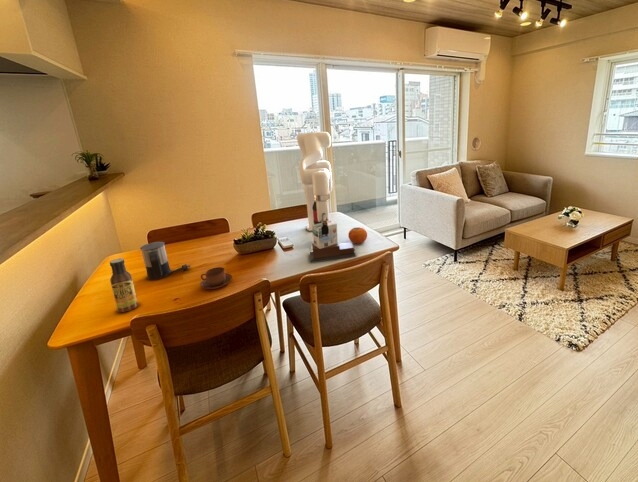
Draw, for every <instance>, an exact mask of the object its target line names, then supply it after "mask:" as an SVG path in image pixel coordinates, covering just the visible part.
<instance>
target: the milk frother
mask: <svg viewBox="0 0 638 482" xmlns="http://www.w3.org/2000/svg"><path fill="white" fill-rule="evenodd" d="M165 244H166V242H165V241H154V242H150V243H146V244H144V245H141V246H140V247H139V250H140V251H141V254H142V255H141V256H142V258H143V263H144V266H145V269H146V276H147V277H146V279H147V280H150V281H153V280H154V281H155V280H160V279H163V278H166V277H168V276H169V275H171V274H174V273H178V272H181V271H187V270H188V269H189V268H191V267H192V266H191V264H189V265H187V264H183V265H181V267H178V268H176V269H174V270H171V267H170V263H169V259H168V255H167V251H166V247H165V246H166V245H165Z"/></svg>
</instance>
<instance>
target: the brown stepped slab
mask: <svg viewBox="0 0 638 482" xmlns="http://www.w3.org/2000/svg"><path fill="white" fill-rule="evenodd" d="M311 248H312V250H311V251H309V258H310V259H309V260H310V263H316V262H324V261H325V262H326V261H332V260H339V259H346V258H347V259H348V258H353V257H356V253H355V252H356V248H355V245H354V244H353V242H352V241H350V242H349V241H348V242H342V243H339V242H338V244H334V245H331V246H328V247H325V248H321V249H319V248H318V247H316V246H315V245H314V242H312V243H311Z"/></svg>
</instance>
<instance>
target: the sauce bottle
mask: <svg viewBox="0 0 638 482" xmlns="http://www.w3.org/2000/svg"><path fill="white" fill-rule="evenodd" d="M109 266H110V268H111V271H112V272H111V273H112V275H111V276H110V279H109V281H110V287H111V291H112V295H113V299H114V302H115V307H116V311H117V312H119V313H126V312H130V311H132V310H134V309H136V308H137V307H138V298H137V293H136V289H135V285H134V281H133V278H132V275H131V273H130V272H129V271H127V268H126V266H125V258H123V257H118V258H113V259H112V260H110V261H109Z"/></svg>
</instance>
